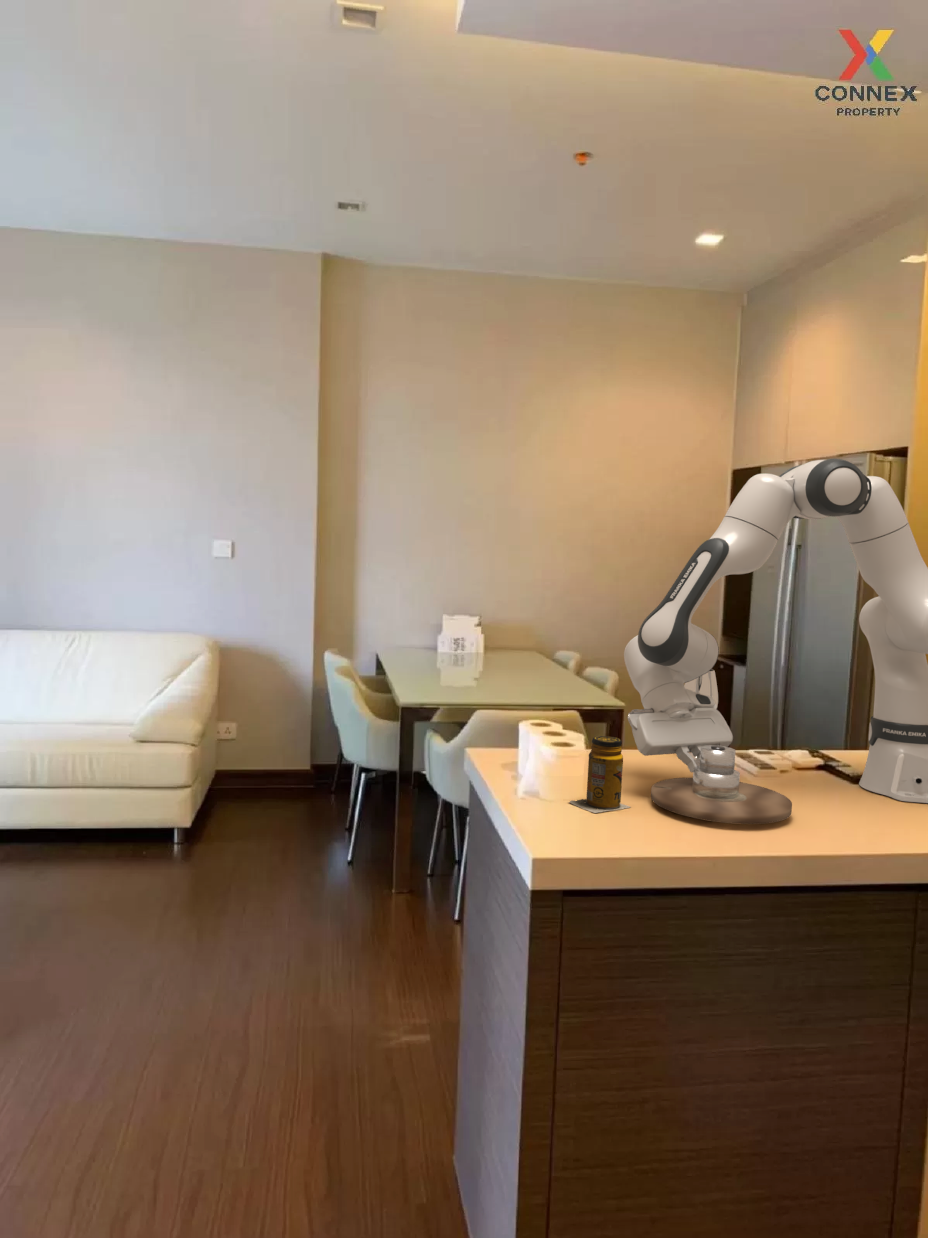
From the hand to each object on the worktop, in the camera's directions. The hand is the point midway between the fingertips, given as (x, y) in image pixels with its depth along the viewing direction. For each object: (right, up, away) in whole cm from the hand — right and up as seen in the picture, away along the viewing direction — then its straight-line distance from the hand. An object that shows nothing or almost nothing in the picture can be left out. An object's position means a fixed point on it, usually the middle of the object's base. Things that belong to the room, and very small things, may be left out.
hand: (699, 770), depth 162 cm
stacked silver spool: (+2, -3, -4) cm, 6 cm away
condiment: (-19, -6, -6) cm, 21 cm away
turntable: (+2, -5, -5) cm, 7 cm away
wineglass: (+9, -4, +35) cm, 36 cm away
